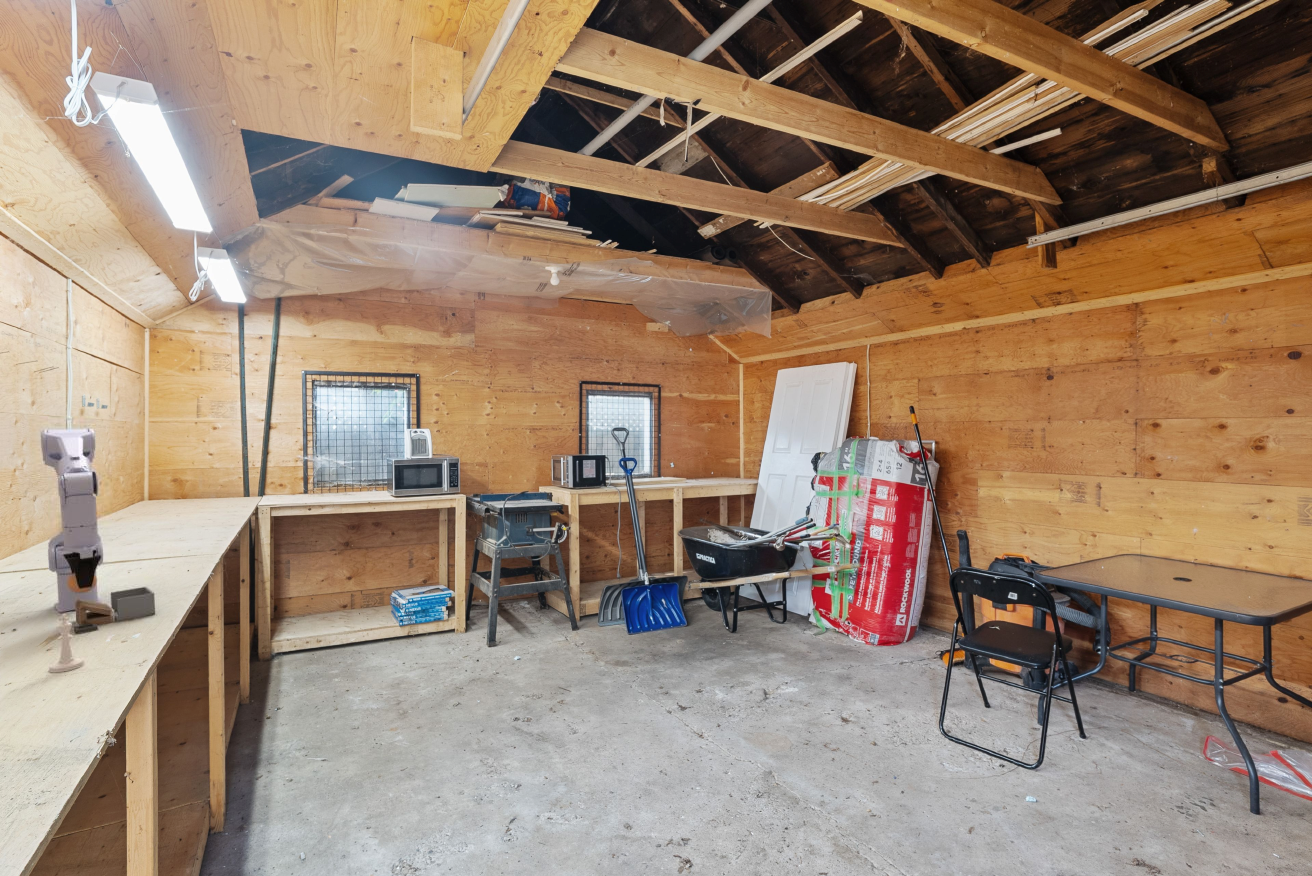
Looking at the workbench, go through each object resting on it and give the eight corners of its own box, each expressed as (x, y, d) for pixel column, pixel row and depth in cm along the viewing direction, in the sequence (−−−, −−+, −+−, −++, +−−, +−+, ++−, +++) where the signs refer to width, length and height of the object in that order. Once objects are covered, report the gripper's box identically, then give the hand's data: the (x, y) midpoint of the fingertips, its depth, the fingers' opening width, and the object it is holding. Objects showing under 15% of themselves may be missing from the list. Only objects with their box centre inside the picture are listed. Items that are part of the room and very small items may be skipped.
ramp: (76, 620, 147) (74, 598, 147) (108, 614, 152) (107, 593, 152) (81, 628, 142) (79, 605, 142) (114, 621, 146) (113, 599, 146)
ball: (94, 589, 149) (95, 567, 149) (98, 593, 145) (99, 570, 145) (65, 592, 145) (66, 569, 145) (68, 596, 142) (69, 573, 142)
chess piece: (62, 673, 117) (59, 619, 117) (41, 671, 118) (38, 617, 118) (91, 662, 122) (88, 610, 122) (70, 661, 123) (67, 609, 122)
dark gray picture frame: (73, 630, 141) (73, 626, 141) (95, 626, 143) (95, 622, 143) (76, 634, 138) (75, 630, 138) (98, 629, 141) (97, 626, 141)
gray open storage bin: (109, 613, 152) (108, 592, 152) (147, 606, 157) (146, 586, 157) (116, 621, 146) (115, 599, 146) (155, 614, 152) (154, 593, 151)
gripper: (52, 524, 147) (55, 583, 147) (60, 531, 137) (63, 595, 137) (93, 520, 152) (96, 577, 152) (103, 527, 142) (106, 588, 143)
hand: (83, 585), depth 145 cm, fingers closed on ball, 5 cm apart
